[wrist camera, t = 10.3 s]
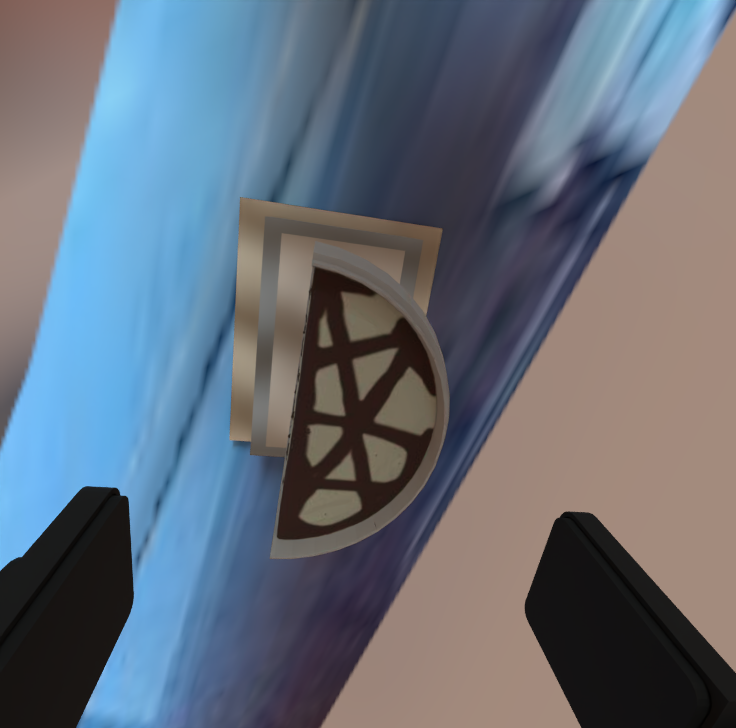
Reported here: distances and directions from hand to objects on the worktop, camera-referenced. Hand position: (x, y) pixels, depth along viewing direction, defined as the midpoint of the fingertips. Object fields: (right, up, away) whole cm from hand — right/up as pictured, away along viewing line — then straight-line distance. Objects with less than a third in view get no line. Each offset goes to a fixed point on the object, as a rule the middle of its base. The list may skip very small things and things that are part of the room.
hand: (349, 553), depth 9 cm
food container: (0, +5, +15) cm, 16 cm away
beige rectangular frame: (-2, +6, +19) cm, 20 cm away
